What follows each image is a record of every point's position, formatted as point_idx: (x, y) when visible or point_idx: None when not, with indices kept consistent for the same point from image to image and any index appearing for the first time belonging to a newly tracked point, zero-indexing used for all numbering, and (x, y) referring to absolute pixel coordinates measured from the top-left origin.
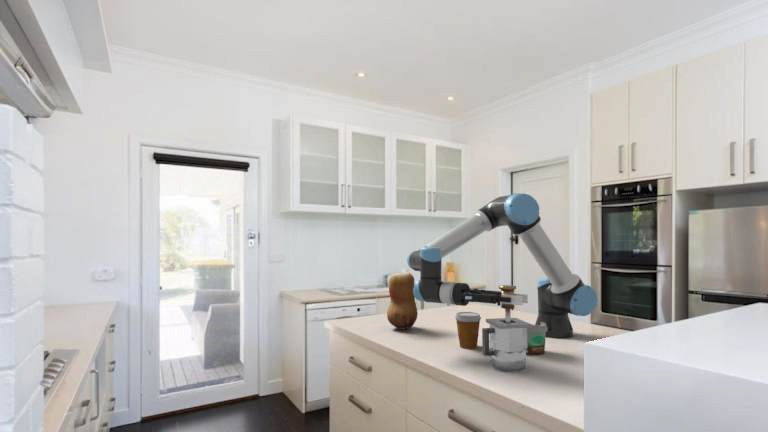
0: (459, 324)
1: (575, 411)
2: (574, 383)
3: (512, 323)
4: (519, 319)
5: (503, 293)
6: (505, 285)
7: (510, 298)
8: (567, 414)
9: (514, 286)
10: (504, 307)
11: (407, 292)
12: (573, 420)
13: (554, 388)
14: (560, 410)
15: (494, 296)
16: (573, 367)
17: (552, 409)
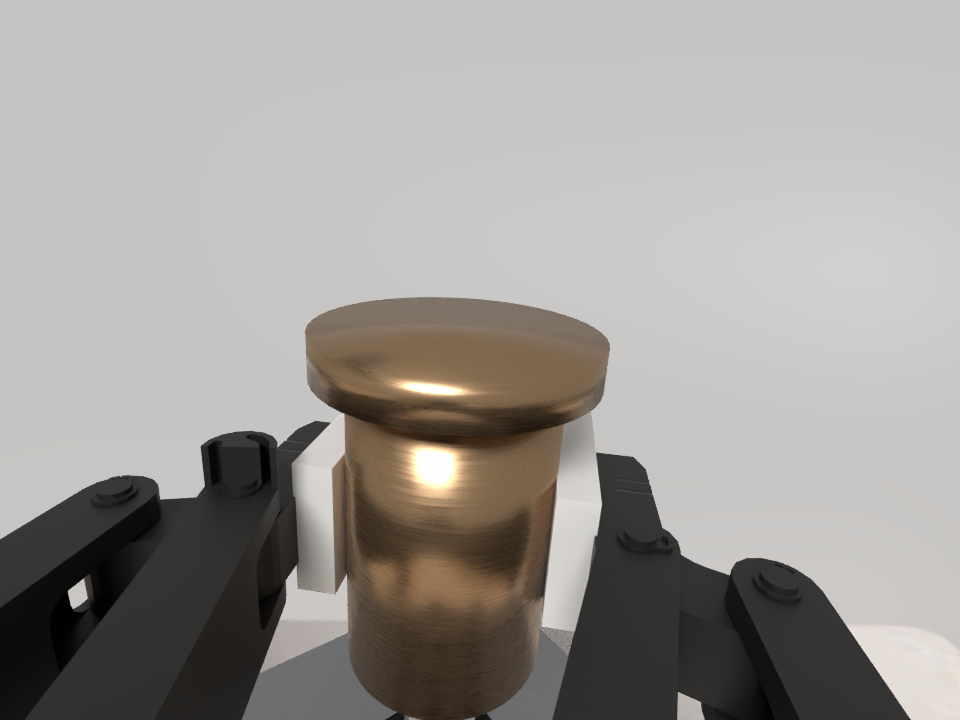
0: None
1: (849, 630)
2: (556, 632)
3: (530, 712)
4: (268, 673)
5: (555, 467)
6: (373, 338)
7: (612, 463)
8: (903, 650)
9: (467, 302)
10: (536, 650)
11: None
12: (928, 635)
13: (681, 699)
14: (896, 670)
15: (804, 589)
16: (313, 635)
17: (921, 695)
